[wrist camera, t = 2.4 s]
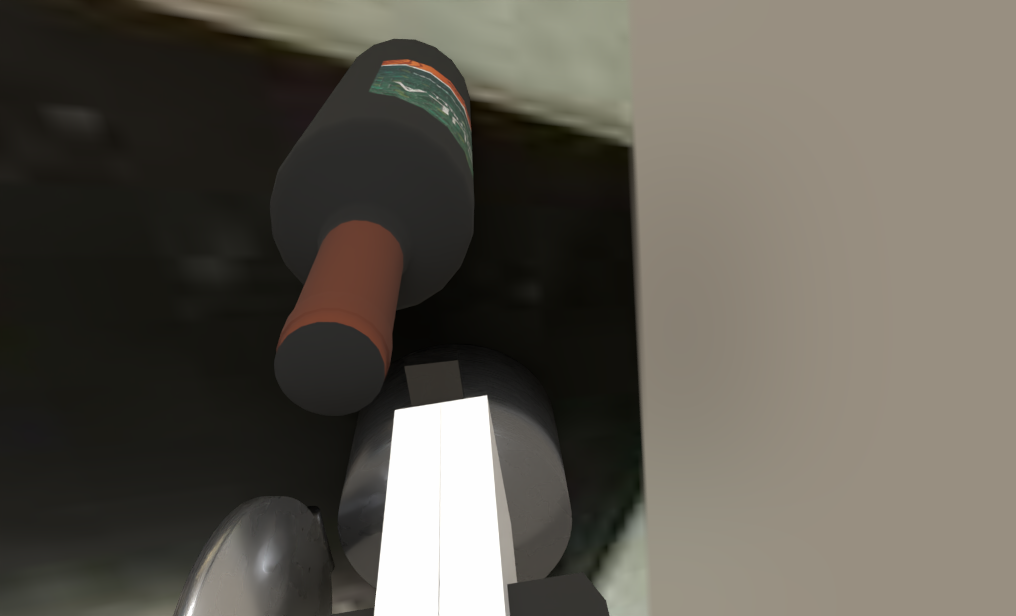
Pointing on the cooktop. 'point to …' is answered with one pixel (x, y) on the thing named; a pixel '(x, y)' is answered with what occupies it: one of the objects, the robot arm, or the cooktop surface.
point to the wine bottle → (371, 219)
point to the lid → (262, 564)
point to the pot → (519, 441)
